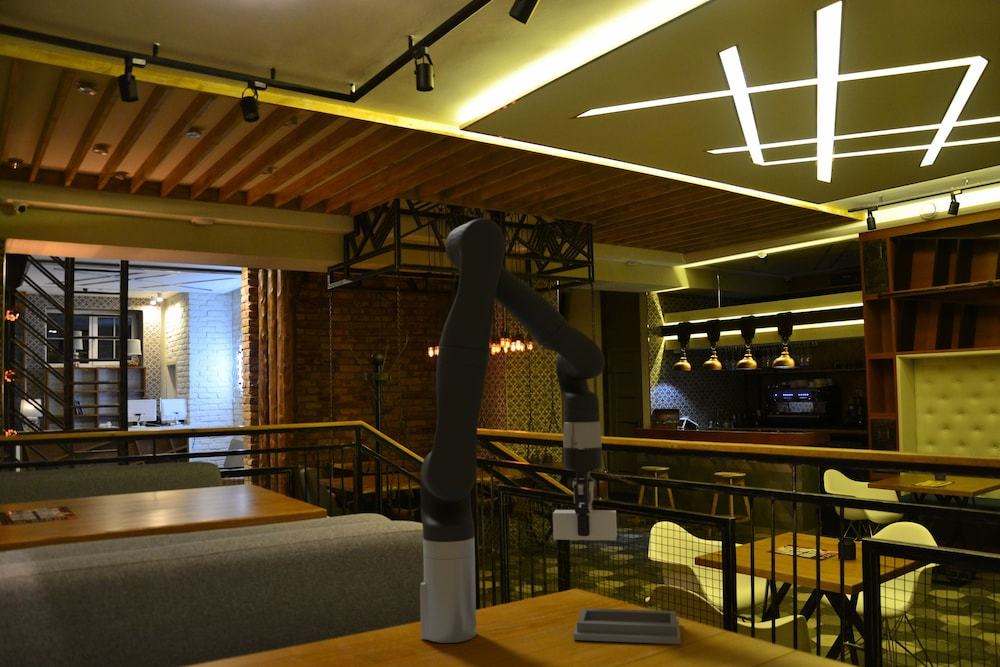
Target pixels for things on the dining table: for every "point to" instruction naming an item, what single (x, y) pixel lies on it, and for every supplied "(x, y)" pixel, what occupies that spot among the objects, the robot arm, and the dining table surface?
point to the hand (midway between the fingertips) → (584, 532)
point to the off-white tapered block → (599, 525)
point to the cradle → (628, 626)
